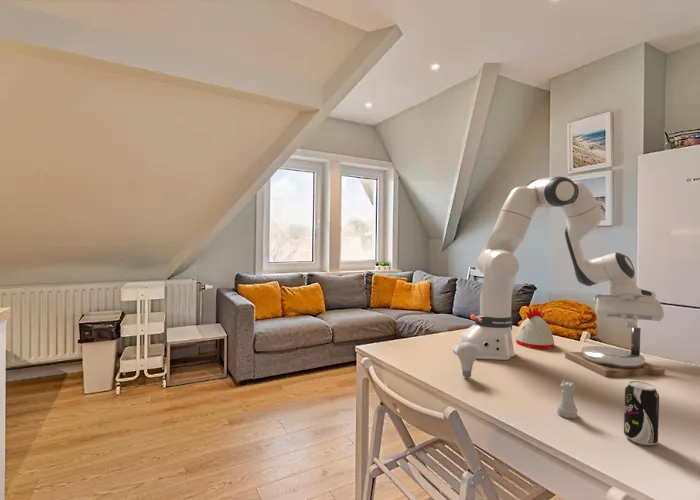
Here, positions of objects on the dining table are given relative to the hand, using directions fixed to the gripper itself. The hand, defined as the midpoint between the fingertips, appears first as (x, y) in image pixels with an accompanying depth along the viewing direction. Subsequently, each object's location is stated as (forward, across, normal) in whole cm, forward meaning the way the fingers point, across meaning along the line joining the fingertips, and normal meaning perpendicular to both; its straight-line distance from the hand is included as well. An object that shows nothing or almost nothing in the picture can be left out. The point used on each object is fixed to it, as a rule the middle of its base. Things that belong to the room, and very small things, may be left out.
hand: (631, 327), depth 132 cm
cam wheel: (+14, -8, -1) cm, 16 cm away
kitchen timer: (+4, -30, +14) cm, 34 cm away
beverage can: (+55, -12, -38) cm, 68 cm away
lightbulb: (+40, -50, -23) cm, 68 cm away
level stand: (+16, -8, +1) cm, 18 cm away
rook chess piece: (+50, -25, -33) cm, 65 cm away
